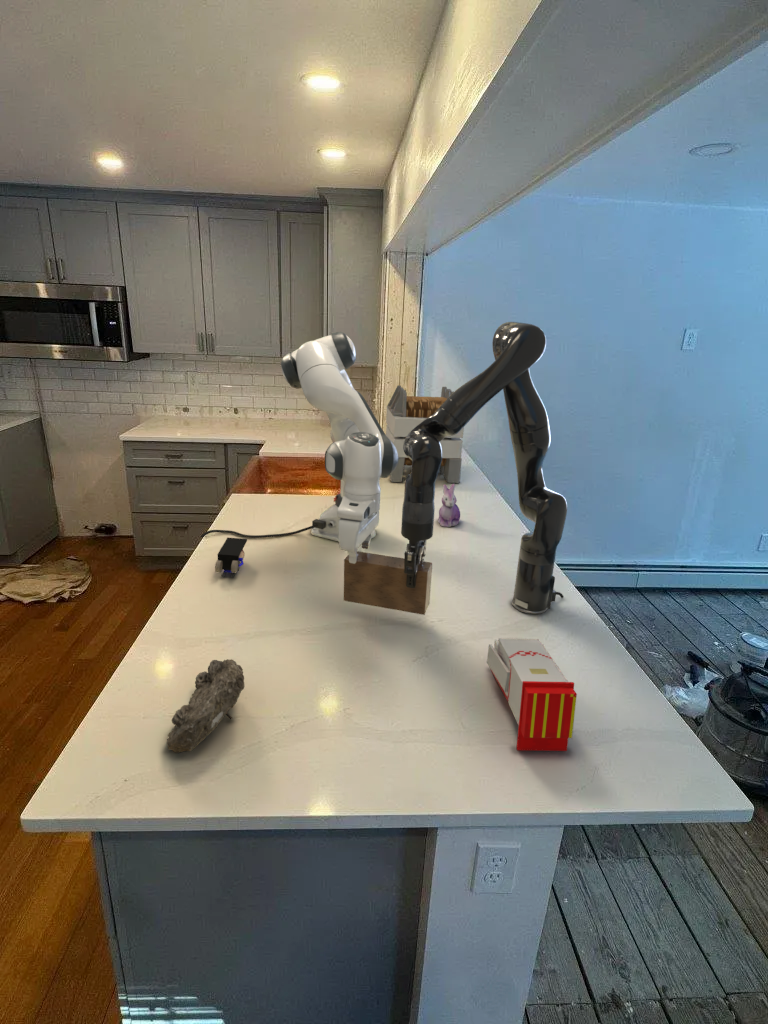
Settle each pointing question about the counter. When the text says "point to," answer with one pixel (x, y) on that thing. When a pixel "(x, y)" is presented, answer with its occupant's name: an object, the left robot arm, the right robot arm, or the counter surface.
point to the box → (386, 583)
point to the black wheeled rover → (230, 556)
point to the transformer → (406, 417)
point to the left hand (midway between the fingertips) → (359, 554)
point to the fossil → (206, 705)
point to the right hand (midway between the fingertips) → (413, 581)
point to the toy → (534, 693)
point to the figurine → (449, 508)
